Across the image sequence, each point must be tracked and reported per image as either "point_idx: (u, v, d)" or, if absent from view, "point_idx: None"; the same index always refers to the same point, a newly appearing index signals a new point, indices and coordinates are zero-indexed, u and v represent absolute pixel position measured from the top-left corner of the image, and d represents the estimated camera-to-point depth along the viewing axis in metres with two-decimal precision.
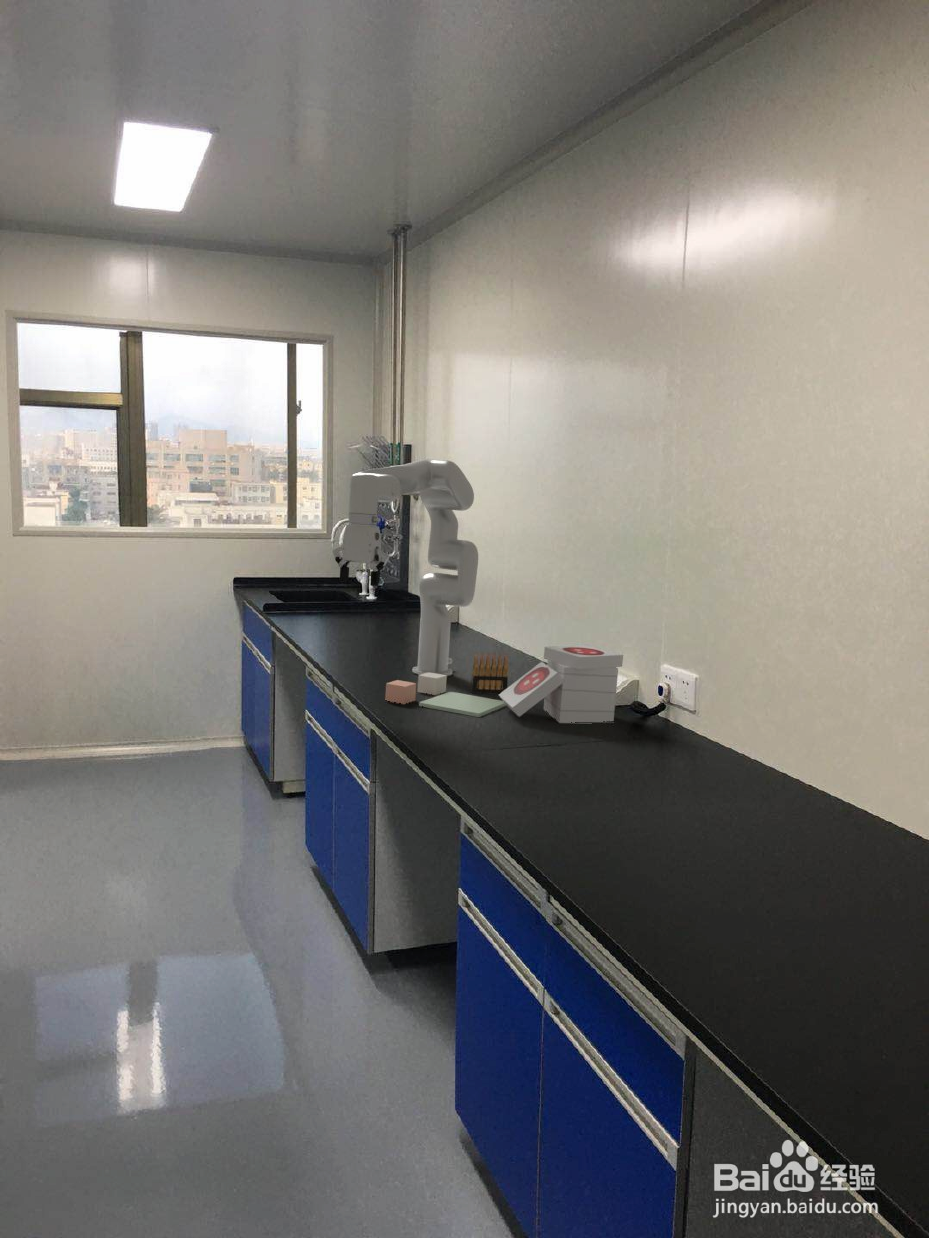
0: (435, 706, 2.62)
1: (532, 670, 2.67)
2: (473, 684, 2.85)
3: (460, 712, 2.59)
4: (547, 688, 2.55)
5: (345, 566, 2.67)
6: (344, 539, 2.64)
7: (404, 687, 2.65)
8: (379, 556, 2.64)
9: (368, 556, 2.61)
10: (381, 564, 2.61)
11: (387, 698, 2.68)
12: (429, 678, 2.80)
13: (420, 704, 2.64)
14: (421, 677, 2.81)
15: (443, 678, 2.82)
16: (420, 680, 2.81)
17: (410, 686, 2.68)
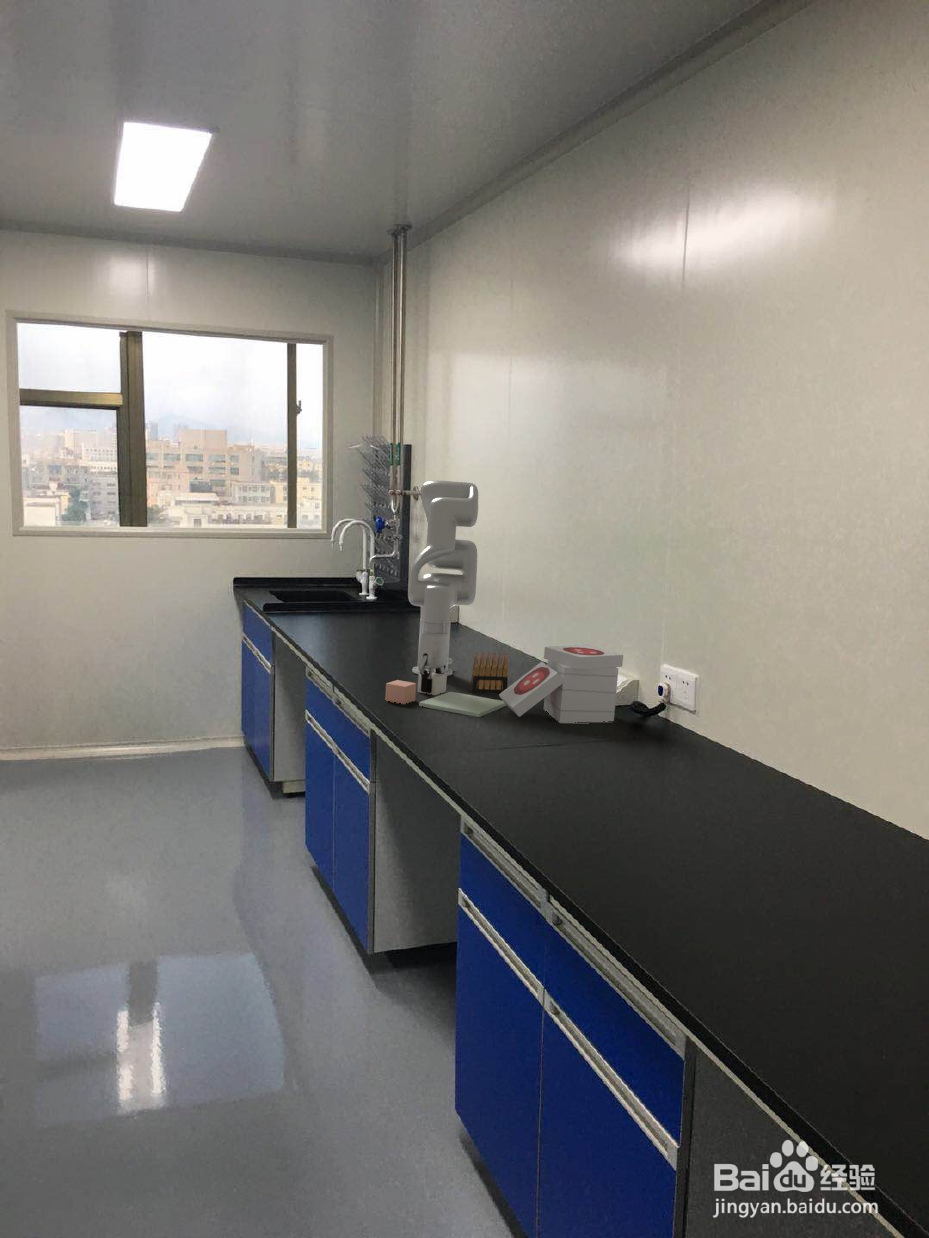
0: (435, 706, 2.62)
1: (532, 670, 2.67)
2: (473, 684, 2.85)
3: (460, 712, 2.59)
4: (547, 689, 2.54)
5: None
6: (434, 649, 2.77)
7: (404, 687, 2.65)
8: None
9: (446, 659, 2.84)
10: (445, 667, 2.87)
11: (387, 698, 2.68)
12: None
13: (420, 704, 2.64)
14: None
15: (443, 678, 2.82)
16: (420, 680, 2.81)
17: (410, 686, 2.68)
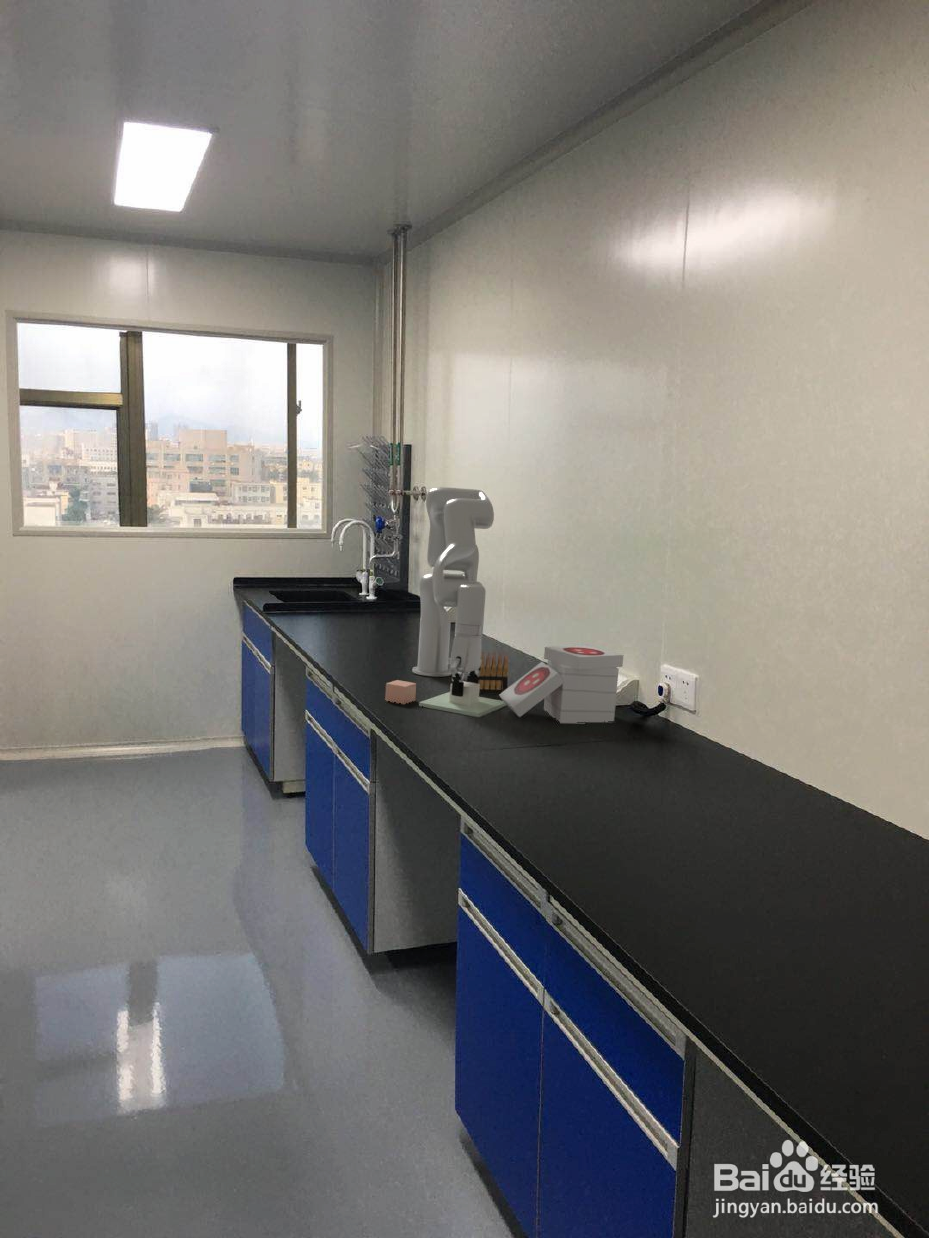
0: (435, 706, 2.62)
1: (532, 670, 2.67)
2: None
3: (460, 712, 2.59)
4: (548, 689, 2.54)
5: None
6: (467, 652, 2.62)
7: (404, 687, 2.65)
8: None
9: (479, 662, 2.70)
10: (479, 668, 2.73)
11: (387, 698, 2.68)
12: None
13: (420, 704, 2.64)
14: None
15: (476, 687, 2.68)
16: None
17: (410, 686, 2.68)
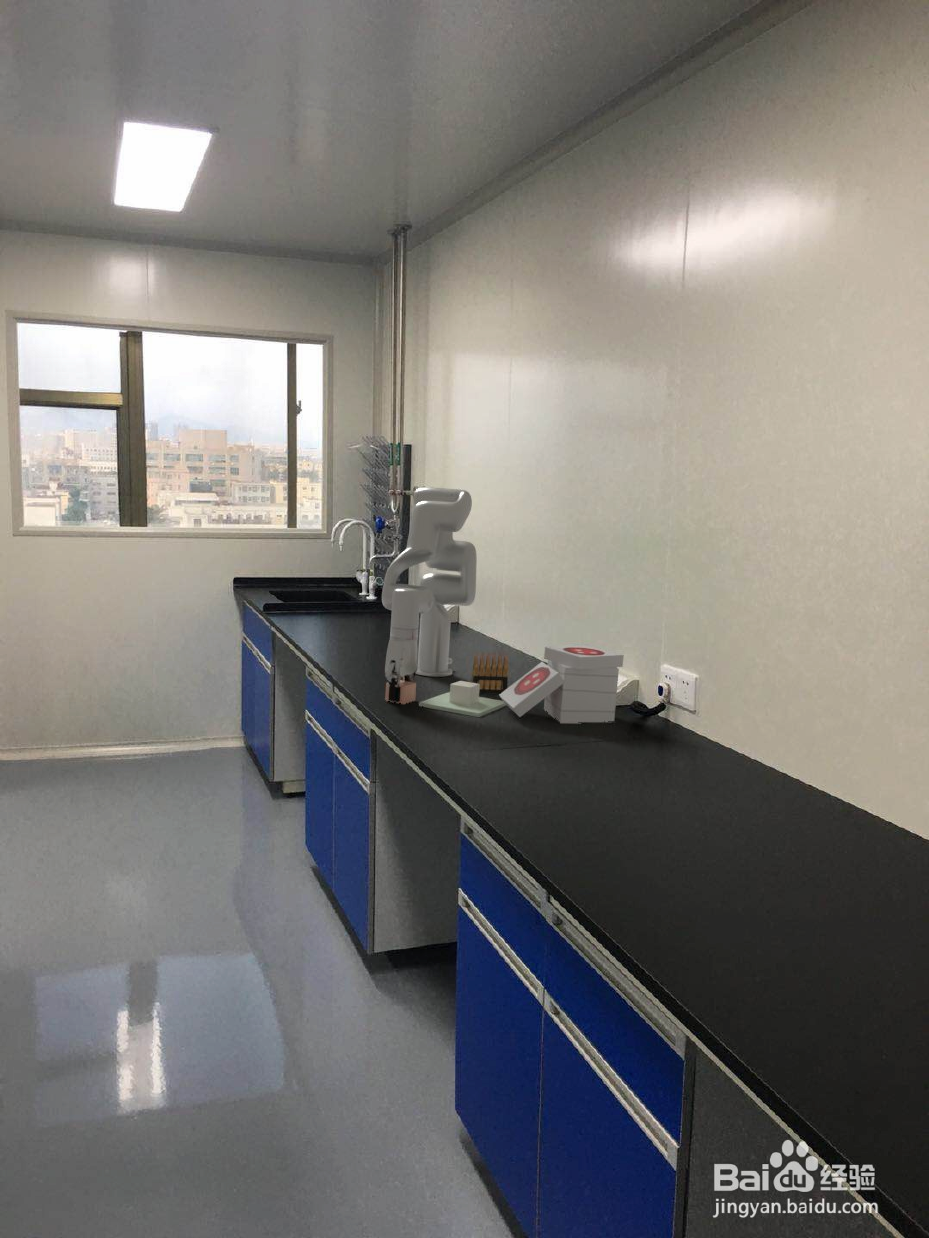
0: (435, 706, 2.62)
1: (532, 670, 2.67)
2: None
3: (460, 712, 2.59)
4: (548, 689, 2.54)
5: None
6: (402, 656, 2.63)
7: (404, 687, 2.65)
8: None
9: (415, 666, 2.71)
10: (414, 674, 2.73)
11: (387, 698, 2.68)
12: (462, 687, 2.65)
13: (420, 704, 2.64)
14: (453, 686, 2.66)
15: (476, 687, 2.68)
16: (452, 689, 2.66)
17: (410, 686, 2.68)
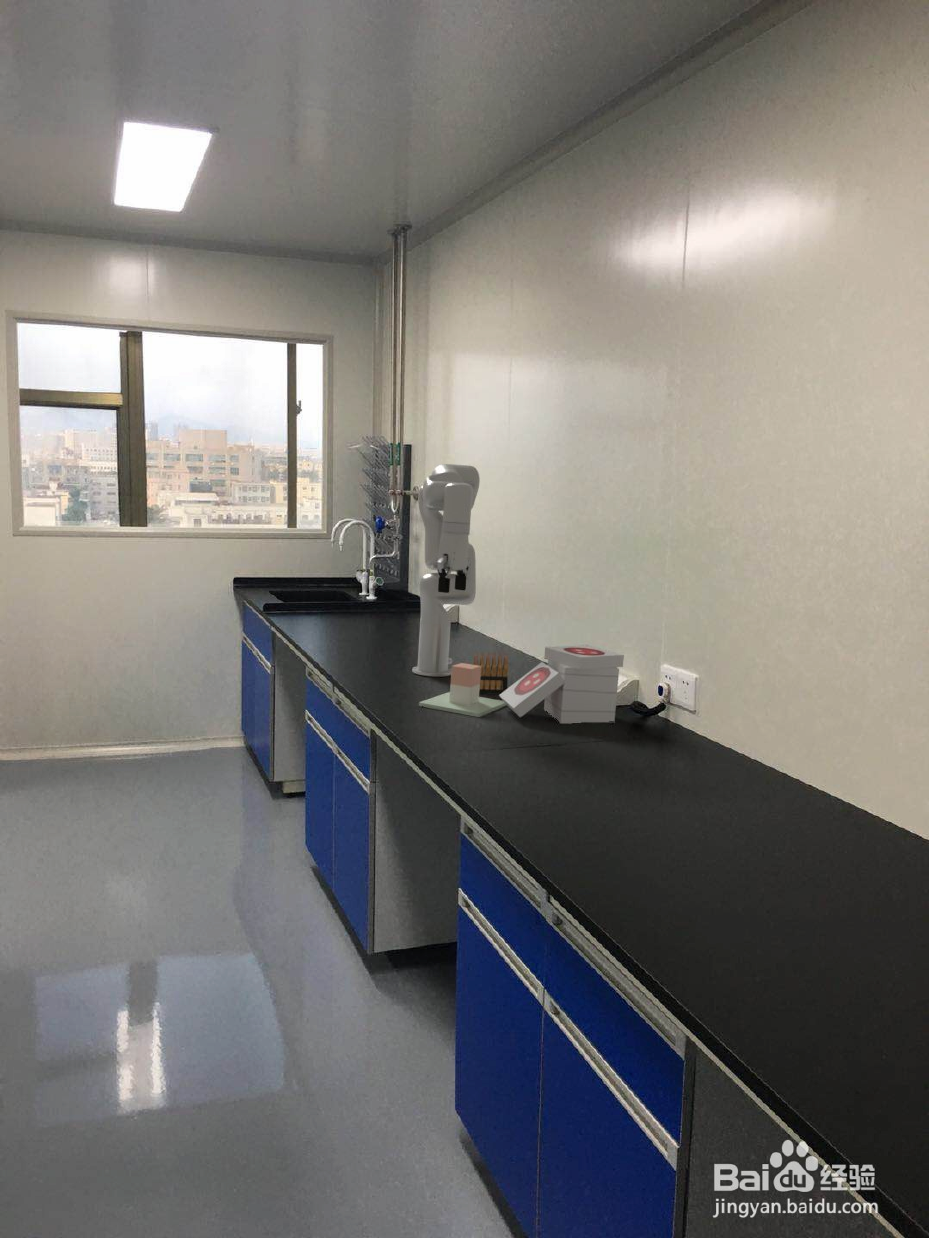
0: (435, 706, 2.62)
1: (532, 670, 2.67)
2: None
3: (460, 712, 2.59)
4: (548, 689, 2.54)
5: None
6: (454, 550, 2.65)
7: (470, 669, 2.64)
8: None
9: (466, 562, 2.73)
10: (468, 568, 2.77)
11: (453, 681, 2.66)
12: (462, 687, 2.65)
13: (420, 704, 2.64)
14: (453, 686, 2.66)
15: (476, 687, 2.68)
16: (452, 689, 2.66)
17: (476, 669, 2.66)
